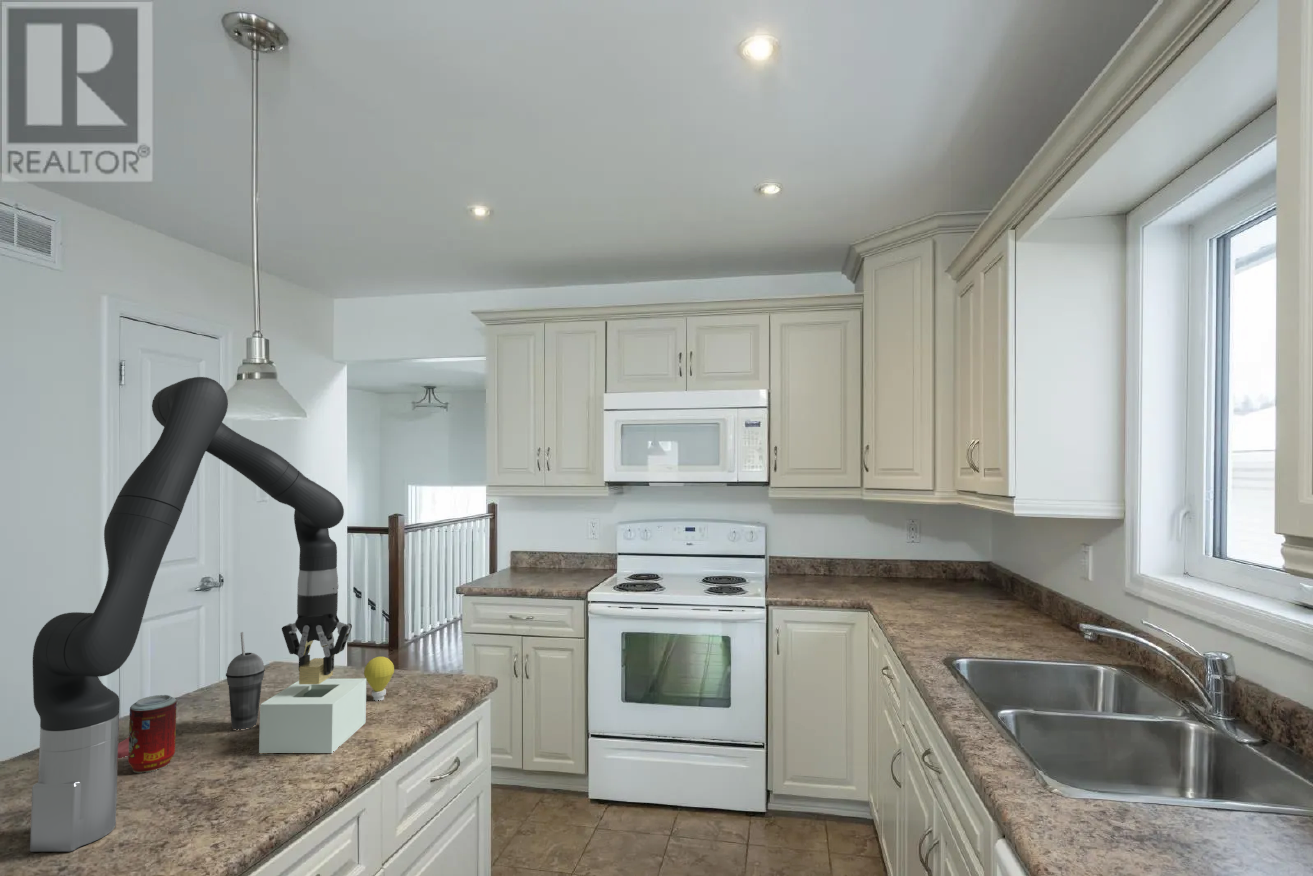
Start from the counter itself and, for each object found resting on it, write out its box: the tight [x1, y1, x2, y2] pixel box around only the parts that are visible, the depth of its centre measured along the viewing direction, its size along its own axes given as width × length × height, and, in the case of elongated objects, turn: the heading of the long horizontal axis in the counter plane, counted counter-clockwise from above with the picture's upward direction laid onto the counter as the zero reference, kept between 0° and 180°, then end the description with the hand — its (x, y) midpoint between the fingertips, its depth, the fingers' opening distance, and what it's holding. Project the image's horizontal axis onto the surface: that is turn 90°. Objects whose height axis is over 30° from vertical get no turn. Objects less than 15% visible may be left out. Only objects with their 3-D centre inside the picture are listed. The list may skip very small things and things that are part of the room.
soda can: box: [127, 694, 178, 774], centre depth 127 cm, size 7×7×12 cm
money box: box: [258, 677, 367, 754], centre depth 141 cm, size 16×14×10 cm
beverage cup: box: [225, 631, 266, 730], centre depth 147 cm, size 7×7×20 cm
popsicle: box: [118, 737, 129, 759], centre depth 138 cm, size 5×2×15 cm
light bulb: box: [363, 656, 395, 702], centre depth 164 cm, size 7×7×10 cm
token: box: [298, 657, 334, 684], centre depth 141 cm, size 6×4×4 cm, turn 0°
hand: (316, 673), depth 141 cm, fingers closed on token, 4 cm apart
